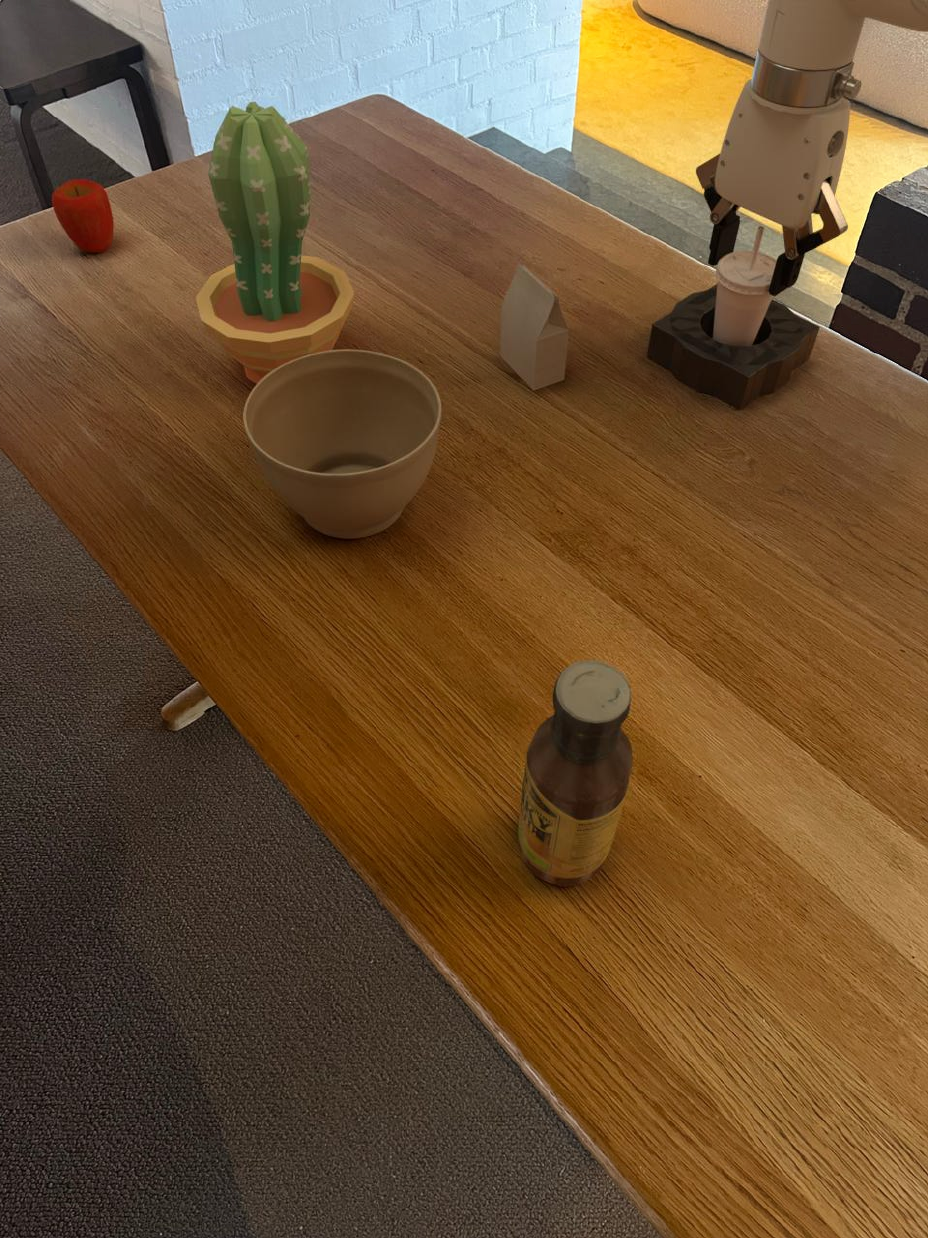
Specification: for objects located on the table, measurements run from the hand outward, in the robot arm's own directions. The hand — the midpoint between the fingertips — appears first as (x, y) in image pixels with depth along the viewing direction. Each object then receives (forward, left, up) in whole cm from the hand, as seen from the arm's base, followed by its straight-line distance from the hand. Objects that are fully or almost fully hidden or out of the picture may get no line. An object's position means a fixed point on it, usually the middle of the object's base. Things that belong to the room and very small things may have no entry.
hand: (749, 273), depth 92 cm
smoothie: (0, 0, -9) cm, 9 cm away
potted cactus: (+34, -31, -10) cm, 47 cm away
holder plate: (0, 0, -10) cm, 10 cm away
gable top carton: (+16, -13, -10) cm, 23 cm away
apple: (+37, -65, -10) cm, 76 cm away
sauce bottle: (+53, +26, -10) cm, 60 cm away
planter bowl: (+42, -10, -10) cm, 44 cm away
